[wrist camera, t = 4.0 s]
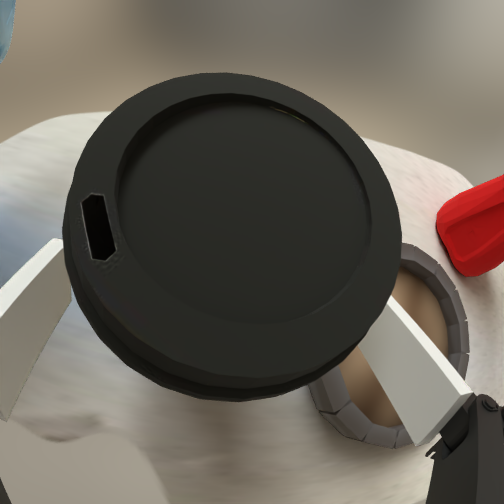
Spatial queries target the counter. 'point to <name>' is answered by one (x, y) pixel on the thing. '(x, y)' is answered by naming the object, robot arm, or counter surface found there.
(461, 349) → the round tray
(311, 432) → the counter surface
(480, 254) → the red curved bottle
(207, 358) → the coffee cup
